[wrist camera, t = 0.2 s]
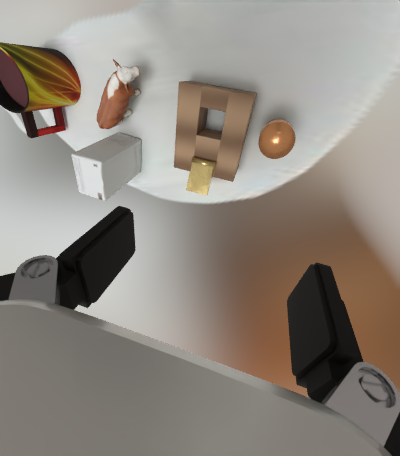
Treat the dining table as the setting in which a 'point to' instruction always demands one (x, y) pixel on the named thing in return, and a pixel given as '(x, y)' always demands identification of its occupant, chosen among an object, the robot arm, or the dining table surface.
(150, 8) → the dining table surface
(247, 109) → the block
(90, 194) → the skincare box
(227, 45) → the dining table surface
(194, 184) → the plate
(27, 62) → the mug
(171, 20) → the dining table surface
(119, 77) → the bull figurine
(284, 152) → the orange-brown domed cylinder
